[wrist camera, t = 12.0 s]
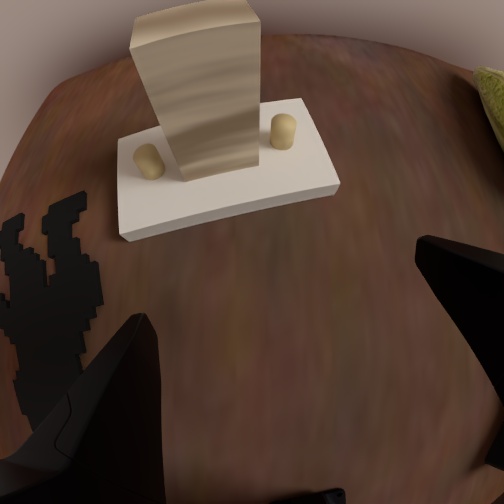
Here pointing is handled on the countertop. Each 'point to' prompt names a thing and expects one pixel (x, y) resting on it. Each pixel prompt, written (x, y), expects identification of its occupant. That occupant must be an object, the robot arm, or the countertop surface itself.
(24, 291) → the ragged black cutout
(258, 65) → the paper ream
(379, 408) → the countertop surface
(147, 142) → the white peg rack
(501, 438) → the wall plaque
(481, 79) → the lettuce
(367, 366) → the countertop surface
